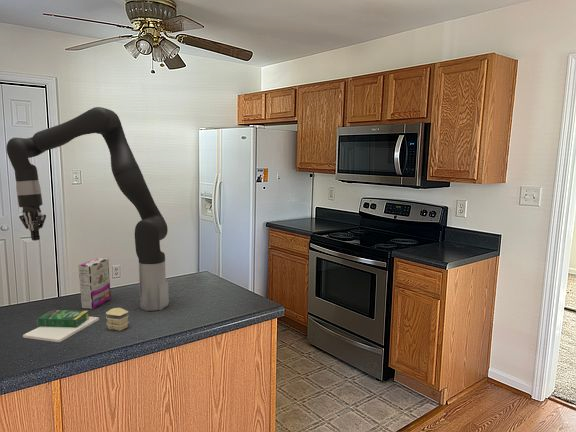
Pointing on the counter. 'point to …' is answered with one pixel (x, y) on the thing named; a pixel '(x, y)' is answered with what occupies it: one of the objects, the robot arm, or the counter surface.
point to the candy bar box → (94, 283)
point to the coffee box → (63, 318)
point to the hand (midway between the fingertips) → (35, 240)
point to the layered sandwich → (117, 319)
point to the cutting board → (57, 331)
